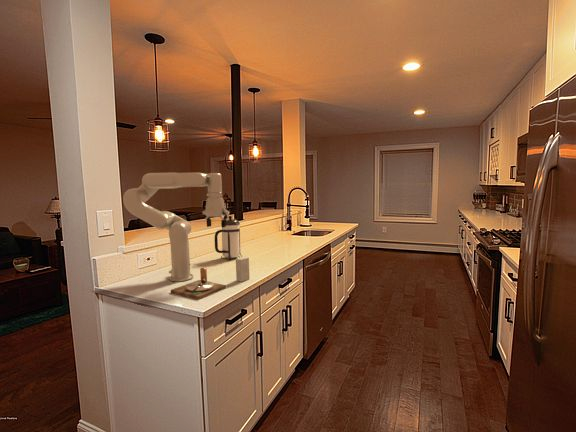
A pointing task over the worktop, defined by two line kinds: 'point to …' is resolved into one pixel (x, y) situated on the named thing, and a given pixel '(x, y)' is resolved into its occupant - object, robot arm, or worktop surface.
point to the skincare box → (242, 269)
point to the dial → (201, 283)
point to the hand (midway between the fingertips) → (216, 226)
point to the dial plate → (197, 295)
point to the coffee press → (229, 239)
